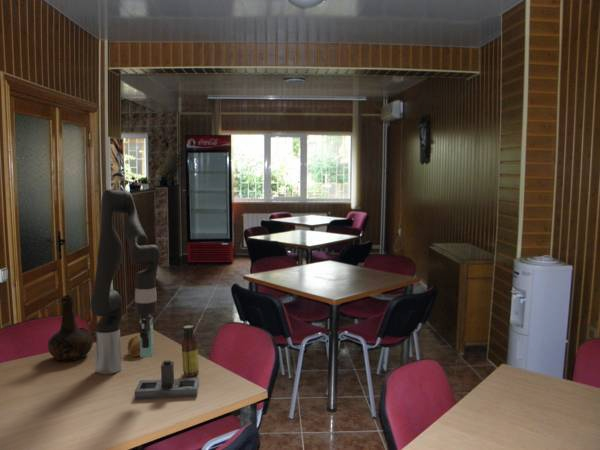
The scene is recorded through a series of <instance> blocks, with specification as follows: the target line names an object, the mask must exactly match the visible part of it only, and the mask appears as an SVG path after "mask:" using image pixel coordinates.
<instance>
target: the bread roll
mask: <svg viewBox="0 0 600 450" xmlns="http://www.w3.org/2000/svg"><path fill="white" fill-rule="evenodd" d="M127 352H128V354H129V355H130V356H131V357H133V358H134V357H138V356H139V357H140V334H136V335H134V336H132V337H131V338H130V339H129V340H128V344H127Z"/></svg>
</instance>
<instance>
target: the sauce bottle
mask: <svg viewBox="0 0 600 450" xmlns="http://www.w3.org/2000/svg"><path fill="white" fill-rule="evenodd" d="M182 329H183V340H182V342H181V356H182V357H181V358H182V372H183V375H184V376H185V377H195V376H197V375H198V374H199V369H200V366H199V350H198V343H197V341H196V339H195V335H194V325H192V324H191V325H190V324H189V325H184V326H183V328H182Z"/></svg>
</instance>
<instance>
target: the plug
mask: <svg viewBox="0 0 600 450" xmlns="http://www.w3.org/2000/svg"><path fill="white" fill-rule="evenodd" d="M148 328H149V327H148ZM148 328H147V329H148ZM143 334H146V333H143ZM153 355H154V324H152V325H151V327H150V331H149V347H148V348H143V347H142V338H140V355H139V357H140V358H152V357H153Z"/></svg>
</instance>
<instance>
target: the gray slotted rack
mask: <svg viewBox="0 0 600 450" xmlns="http://www.w3.org/2000/svg"><path fill="white" fill-rule="evenodd" d="M174 364H175V361H172V360H169V359H168V360H163V361H162V362H161V365H160V379H148V380H146V379H145V380H144V379H143V380H139V382H138V384H137V386H136V388H135V390H134V400H136V401H137V400H139V401H140V400H157V399H172V398H173V399H175V398H193V397H194V398H196V397H198V393H199V388H200V378H199V377H187V378H185V377H184V378H175V373H174V371H175V369H174V368H175V366H174Z"/></svg>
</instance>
